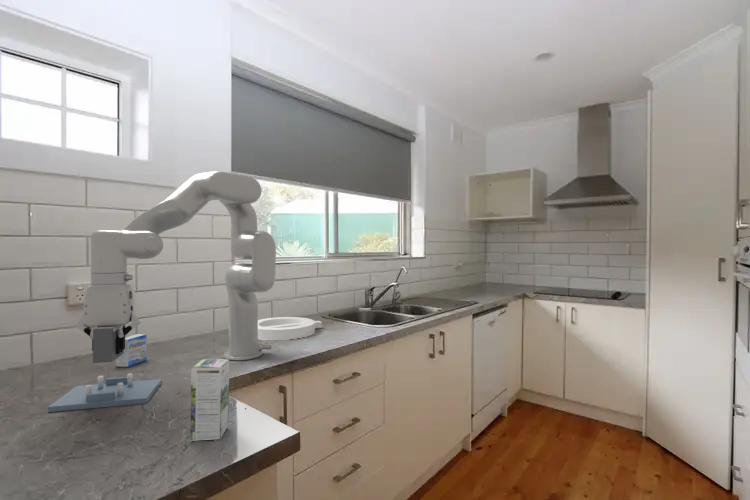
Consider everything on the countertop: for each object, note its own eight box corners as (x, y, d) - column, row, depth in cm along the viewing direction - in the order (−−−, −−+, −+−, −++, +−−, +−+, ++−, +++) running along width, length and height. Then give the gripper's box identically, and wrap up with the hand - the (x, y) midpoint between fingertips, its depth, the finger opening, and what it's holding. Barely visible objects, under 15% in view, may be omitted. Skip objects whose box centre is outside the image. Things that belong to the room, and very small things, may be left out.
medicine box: (127, 367, 123) (127, 339, 123) (115, 366, 124) (115, 339, 124) (147, 360, 131) (147, 334, 131) (135, 359, 132) (135, 333, 132)
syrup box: (200, 428, 82) (199, 358, 82) (229, 427, 83) (229, 357, 82) (189, 442, 76) (189, 367, 76) (221, 441, 77) (221, 366, 77)
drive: (123, 353, 104) (123, 322, 104) (112, 361, 96) (112, 328, 96) (105, 354, 103) (105, 323, 102) (92, 363, 95) (92, 329, 95)
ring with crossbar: (324, 328, 182) (324, 318, 182) (298, 343, 155) (298, 331, 155) (268, 325, 189) (268, 315, 188) (234, 339, 161) (234, 327, 161)
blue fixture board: (161, 383, 109) (161, 368, 109) (146, 403, 95) (146, 385, 95) (76, 390, 104) (76, 374, 104) (48, 412, 90) (48, 393, 90)
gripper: (150, 278, 105) (150, 347, 105) (77, 279, 101) (76, 351, 101) (142, 280, 98) (141, 355, 98) (62, 281, 93) (62, 359, 93)
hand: (108, 352), depth 99 cm, fingers closed on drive, 4 cm apart
